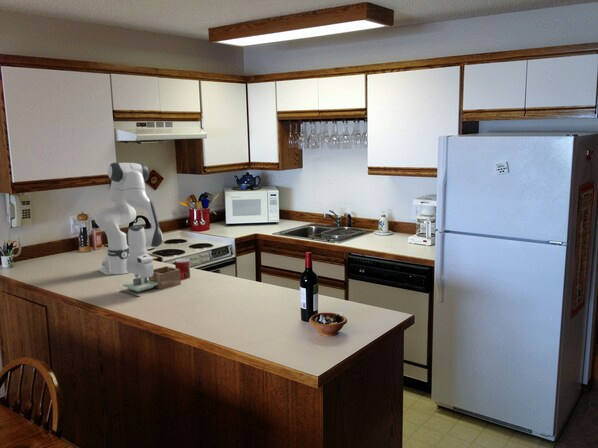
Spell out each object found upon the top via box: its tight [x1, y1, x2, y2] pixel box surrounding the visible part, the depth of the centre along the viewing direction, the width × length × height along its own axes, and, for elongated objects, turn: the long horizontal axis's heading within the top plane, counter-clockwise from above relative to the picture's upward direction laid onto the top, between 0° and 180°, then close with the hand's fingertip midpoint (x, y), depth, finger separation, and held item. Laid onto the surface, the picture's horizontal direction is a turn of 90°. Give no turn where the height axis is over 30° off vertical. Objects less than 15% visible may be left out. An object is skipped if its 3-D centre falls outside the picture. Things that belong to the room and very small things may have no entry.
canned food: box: [174, 258, 191, 280], centre depth 308 cm, size 8×8×11 cm
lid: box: [122, 277, 158, 292], centre depth 287 cm, size 13×13×5 cm
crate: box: [148, 265, 182, 290], centre depth 294 cm, size 12×12×9 cm
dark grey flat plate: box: [118, 290, 141, 298], centre depth 288 cm, size 16×16×1 cm
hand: (140, 282), depth 287 cm, fingers closed on lid
